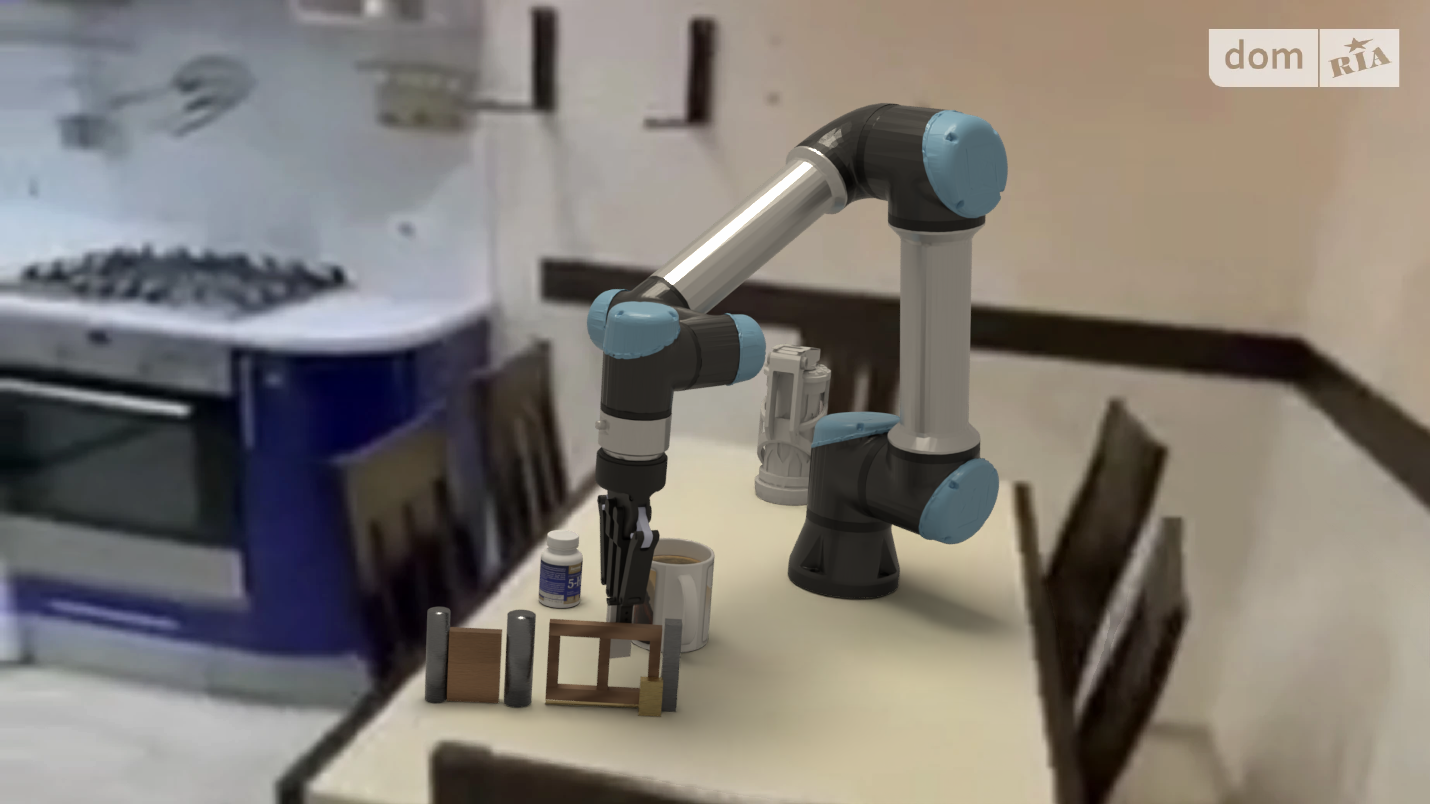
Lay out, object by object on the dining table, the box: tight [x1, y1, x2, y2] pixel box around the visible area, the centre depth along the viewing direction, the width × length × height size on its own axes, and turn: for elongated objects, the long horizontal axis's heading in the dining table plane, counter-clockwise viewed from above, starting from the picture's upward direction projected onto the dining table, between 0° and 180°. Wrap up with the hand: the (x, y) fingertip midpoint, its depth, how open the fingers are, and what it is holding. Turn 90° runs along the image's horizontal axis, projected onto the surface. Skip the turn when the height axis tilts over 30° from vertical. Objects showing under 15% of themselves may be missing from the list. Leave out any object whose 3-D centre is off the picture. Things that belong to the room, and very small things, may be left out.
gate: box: [545, 618, 662, 705], centre depth 170 cm, size 12×1×9 cm, turn 92°
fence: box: [424, 606, 639, 709], centre depth 170 cm, size 25×3×10 cm, turn 94°
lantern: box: [754, 343, 832, 506], centre depth 247 cm, size 13×10×25 cm
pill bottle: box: [538, 529, 584, 609], centre depth 199 cm, size 5×5×9 cm
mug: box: [632, 537, 716, 653], centre depth 189 cm, size 10×12×11 cm
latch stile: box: [637, 618, 683, 718], centre depth 170 cm, size 4×3×10 cm
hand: (617, 655), depth 173 cm, fingers closed
